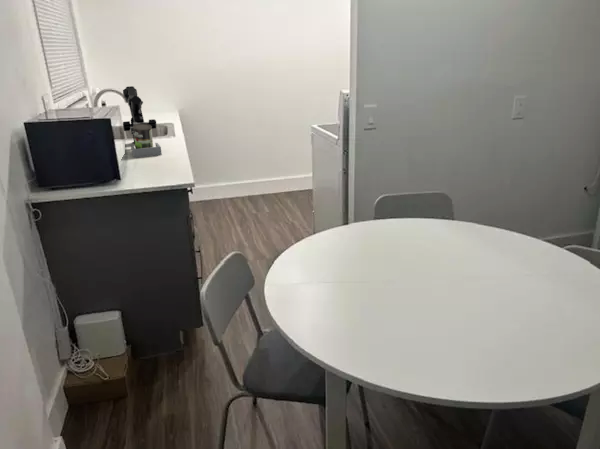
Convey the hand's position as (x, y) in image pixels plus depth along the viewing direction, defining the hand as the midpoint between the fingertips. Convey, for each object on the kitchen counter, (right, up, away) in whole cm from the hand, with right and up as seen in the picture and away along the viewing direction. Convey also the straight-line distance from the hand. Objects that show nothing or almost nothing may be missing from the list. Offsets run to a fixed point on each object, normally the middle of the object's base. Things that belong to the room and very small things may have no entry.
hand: (142, 136), depth 274 cm
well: (+4, -11, -6) cm, 13 cm away
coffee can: (+1, -8, 0) cm, 8 cm away
